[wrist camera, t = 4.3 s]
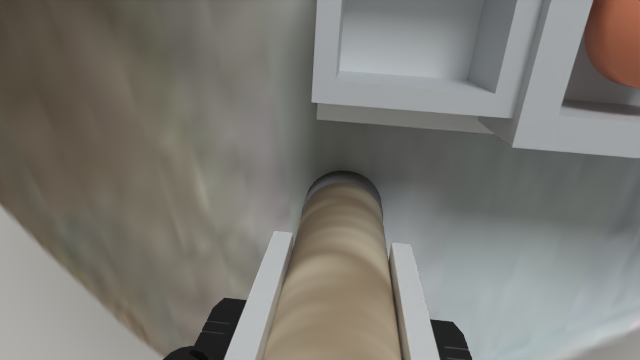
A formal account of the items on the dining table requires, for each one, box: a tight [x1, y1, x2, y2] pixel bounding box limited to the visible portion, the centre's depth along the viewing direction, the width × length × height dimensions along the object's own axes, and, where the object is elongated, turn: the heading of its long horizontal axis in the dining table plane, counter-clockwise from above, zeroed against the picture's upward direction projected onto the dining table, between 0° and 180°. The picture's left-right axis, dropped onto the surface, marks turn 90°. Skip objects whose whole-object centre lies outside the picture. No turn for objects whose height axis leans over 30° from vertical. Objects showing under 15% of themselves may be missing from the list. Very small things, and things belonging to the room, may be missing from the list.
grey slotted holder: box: [312, 0, 640, 158], centre depth 14 cm, size 23×10×6 cm, turn 86°
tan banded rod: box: [263, 171, 402, 360], centre depth 13 cm, size 4×4×16 cm
